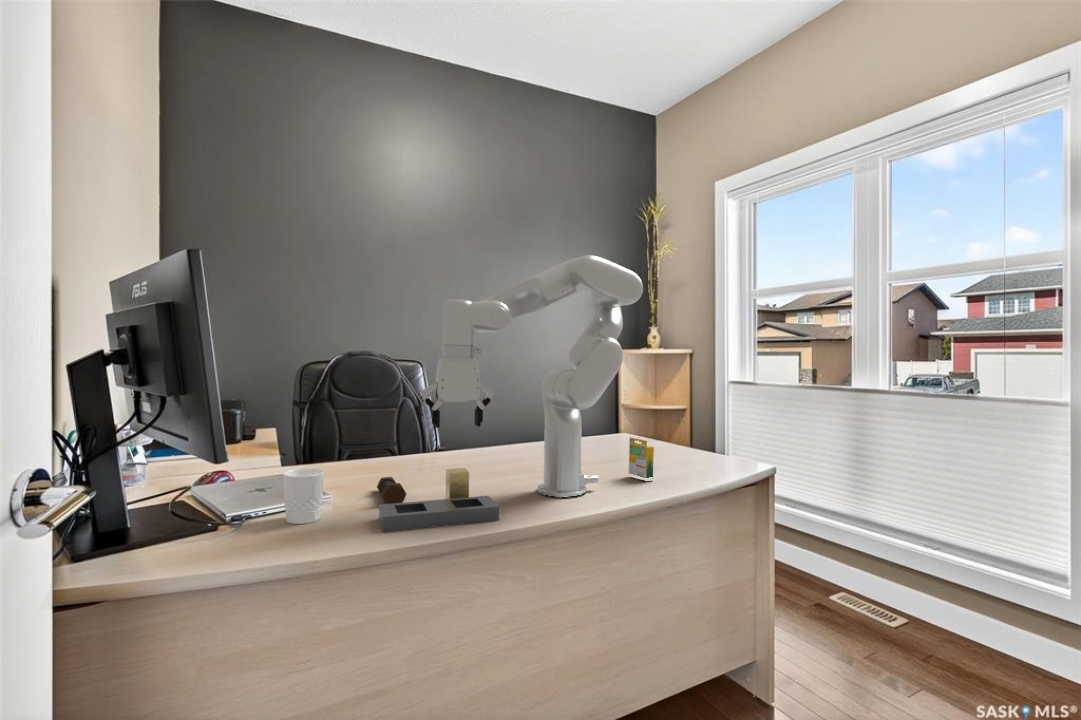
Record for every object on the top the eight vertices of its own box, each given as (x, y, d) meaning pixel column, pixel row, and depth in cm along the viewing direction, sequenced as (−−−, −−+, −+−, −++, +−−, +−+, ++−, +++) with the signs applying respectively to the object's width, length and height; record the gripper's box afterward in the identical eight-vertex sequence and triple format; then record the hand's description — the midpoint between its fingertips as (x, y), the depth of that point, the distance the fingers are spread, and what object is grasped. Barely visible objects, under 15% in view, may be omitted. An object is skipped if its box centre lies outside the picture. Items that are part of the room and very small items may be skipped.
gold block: (464, 501, 132) (464, 467, 132) (468, 506, 128) (469, 472, 127) (445, 502, 130) (445, 469, 130) (449, 508, 126) (449, 473, 126)
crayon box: (653, 481, 155) (654, 440, 154) (645, 482, 153) (646, 440, 153) (636, 475, 161) (636, 436, 160) (628, 477, 159) (628, 437, 159)
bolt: (387, 497, 141) (397, 511, 127) (369, 489, 139) (378, 502, 126) (399, 476, 142) (410, 488, 128) (381, 468, 140) (391, 479, 127)
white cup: (318, 524, 113) (319, 476, 113) (278, 526, 112) (278, 477, 111) (327, 513, 121) (327, 467, 120) (289, 514, 119) (289, 468, 119)
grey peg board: (488, 508, 126) (488, 495, 126) (499, 520, 117) (499, 506, 117) (379, 518, 117) (379, 504, 117) (382, 532, 109) (382, 517, 109)
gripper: (490, 353, 135) (488, 423, 135) (418, 352, 129) (417, 425, 129) (499, 354, 128) (497, 427, 128) (423, 352, 121) (422, 429, 122)
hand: (457, 426), depth 128 cm, fingers open, 9 cm apart
